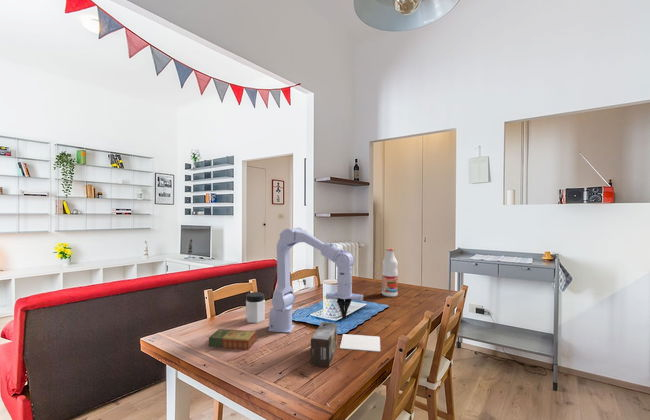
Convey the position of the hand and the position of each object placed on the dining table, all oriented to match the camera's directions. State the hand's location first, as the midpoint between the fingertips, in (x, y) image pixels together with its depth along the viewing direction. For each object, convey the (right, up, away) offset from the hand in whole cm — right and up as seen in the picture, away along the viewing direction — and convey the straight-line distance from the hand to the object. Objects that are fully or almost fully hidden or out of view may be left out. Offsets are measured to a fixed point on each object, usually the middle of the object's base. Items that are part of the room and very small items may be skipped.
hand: (344, 317), depth 124 cm
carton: (-43, -10, -3) cm, 44 cm away
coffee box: (-6, -5, -4) cm, 8 cm away
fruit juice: (+32, -9, +67) cm, 75 cm away
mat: (+6, -10, -1) cm, 11 cm away
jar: (-40, -9, +23) cm, 47 cm away
